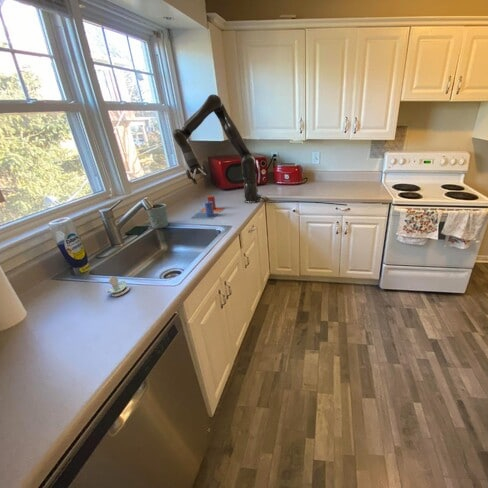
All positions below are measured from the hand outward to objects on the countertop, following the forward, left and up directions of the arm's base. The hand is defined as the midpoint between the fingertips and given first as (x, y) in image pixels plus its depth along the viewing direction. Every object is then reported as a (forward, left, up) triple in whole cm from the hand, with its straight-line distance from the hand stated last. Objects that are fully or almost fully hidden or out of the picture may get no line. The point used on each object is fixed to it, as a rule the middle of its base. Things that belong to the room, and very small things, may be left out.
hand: (201, 182), depth 193 cm
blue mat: (-9, +22, -16) cm, 29 cm away
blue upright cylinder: (-13, +22, -16) cm, 30 cm away
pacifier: (-12, +107, -17) cm, 109 cm away
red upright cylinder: (-9, +9, -16) cm, 21 cm away
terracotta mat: (-9, +9, -16) cm, 21 cm away
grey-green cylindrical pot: (+10, +41, -17) cm, 45 cm away
